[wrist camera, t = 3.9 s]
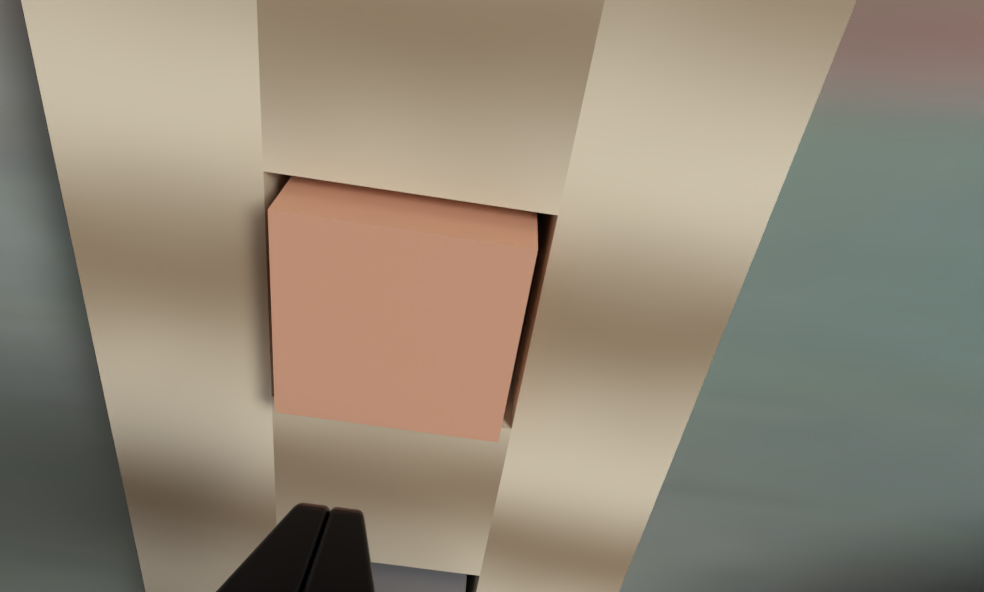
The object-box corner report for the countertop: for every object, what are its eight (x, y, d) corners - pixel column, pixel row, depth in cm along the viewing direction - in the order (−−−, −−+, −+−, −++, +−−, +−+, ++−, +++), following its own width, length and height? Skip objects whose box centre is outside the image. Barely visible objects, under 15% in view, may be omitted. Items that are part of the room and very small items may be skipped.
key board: (556, 645, 24) (559, 739, 21) (205, 602, 23) (166, 692, 21) (1074, -858, 8) (1341, -1204, 5) (-24, -1102, 7) (-319, -1615, 5)
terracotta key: (503, 337, 17) (498, 442, 14) (319, 312, 16) (275, 412, 14) (535, 167, 14) (537, 249, 11) (321, 134, 14) (267, 209, 11)
